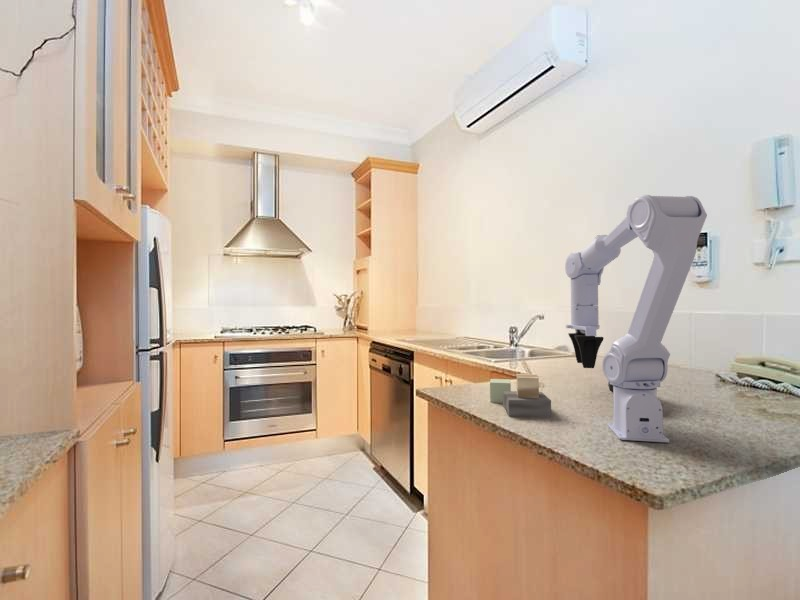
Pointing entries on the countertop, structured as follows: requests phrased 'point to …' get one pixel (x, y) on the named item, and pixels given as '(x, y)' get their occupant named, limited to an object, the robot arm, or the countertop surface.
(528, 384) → the birch cube
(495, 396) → the sage cube
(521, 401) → the charcoal slab
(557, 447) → the countertop surface
